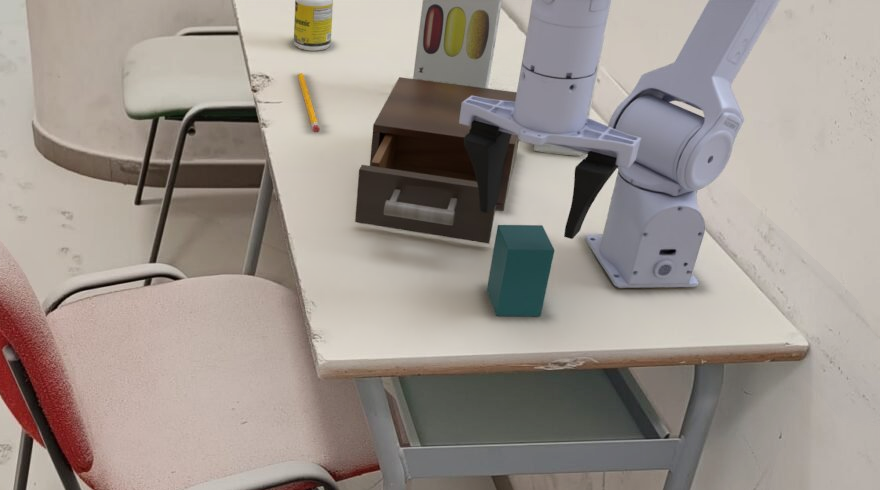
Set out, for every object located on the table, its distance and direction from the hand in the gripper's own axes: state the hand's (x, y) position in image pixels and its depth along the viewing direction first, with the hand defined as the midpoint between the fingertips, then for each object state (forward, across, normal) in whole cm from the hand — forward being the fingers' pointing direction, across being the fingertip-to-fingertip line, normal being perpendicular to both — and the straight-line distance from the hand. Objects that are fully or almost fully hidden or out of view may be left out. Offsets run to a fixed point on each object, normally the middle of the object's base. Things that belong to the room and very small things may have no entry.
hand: (529, 220), depth 87 cm
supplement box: (+9, -26, +41) cm, 49 cm away
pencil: (+9, -40, +29) cm, 50 cm away
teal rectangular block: (+8, 0, 0) cm, 8 cm away
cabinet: (+8, -17, +21) cm, 28 cm away
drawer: (+7, -14, +9) cm, 18 cm away
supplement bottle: (+9, -52, +48) cm, 71 cm away
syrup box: (+9, -10, +36) cm, 38 cm away
